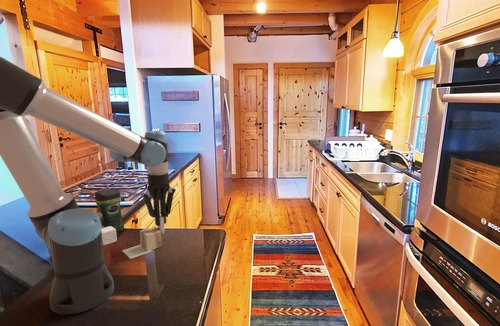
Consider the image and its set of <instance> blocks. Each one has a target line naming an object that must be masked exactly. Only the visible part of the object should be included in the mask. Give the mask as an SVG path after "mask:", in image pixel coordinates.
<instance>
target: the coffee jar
mask: <svg viewBox="0 0 500 326" xmlns="http://www.w3.org/2000/svg"><path fill="white" fill-rule="evenodd" d="M121 199H122V195H121V191H120V189H118V188H116V187H111V188H106V189H102V190H97V191H95V193H94V203H95V204H96V206H97V214H98V215H99V217H100V221H101V224H102V228H105V227H109V226H112V227H113V228H115V229H116V233H118V232H121V231H123V230H124V229H125V224H124V219H123V215H122V210H121Z"/></svg>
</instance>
